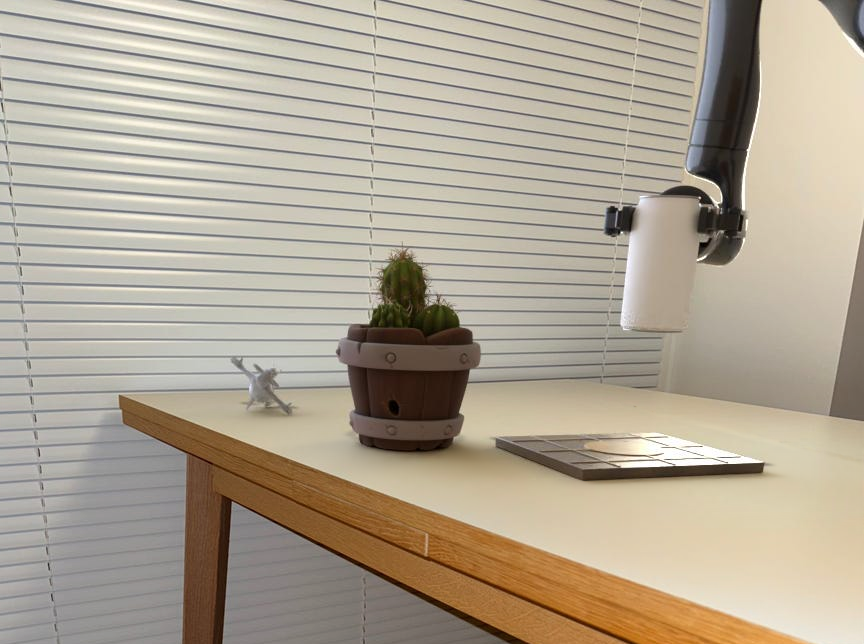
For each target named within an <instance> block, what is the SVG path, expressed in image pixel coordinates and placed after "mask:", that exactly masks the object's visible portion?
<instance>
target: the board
mask: <svg viewBox="0 0 864 644" xmlns="http://www.w3.org/2000/svg"><path fill="white" fill-rule="evenodd" d="M494 445H495V447H497V448H499V449H502V450H505V451H507V452H509V453H511V454H515V455H517V456H520V457H523V458H525V459H526V460H527V459H528V460H531V461H533V462H535V463H538V464H541V465H542V466H545V467H548V468H551V469H552V470H555V471H559V472H561V473H562V474H565V475H568V476H571V477H574V478H575V479H579V480H581V481H597V480H598V481H599V480H618V479H619V480H621V479H643V478H644V479H645V478H664V477H665V478H666V477H689V476H711V475H713V476H714V475H729V474H730V475H734V474H757V473H759V474H761V473H764V469H765V461H761V460H758V459H754V458H750V457H746V456H743V455H739V454H735V453H733V452H732V453H731V452H729V451H725V450H721V449H717V448H713V447H709V446H706V445H703V444H699V443H695V442H692V441H689V440H684V439H680V438H678V437H677V438H676V437H673V436H670V435H666V434H662V433H658V432H625V433H624V432H623V433H590V434H589V433H588V434H582V433H581V434H553V435H552V434H551V435H550V434H548V435H512V436H511V435H509V436H506V435H505V436H496V437H495V443H494Z"/></svg>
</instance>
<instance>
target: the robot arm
mask: <svg viewBox="0 0 864 644" xmlns="http://www.w3.org/2000/svg"><path fill="white" fill-rule="evenodd" d="M817 2H819V3H820V4H821V5H823V7H824V8H826V10H827V12H829V13H830V14H831V16H832V17H833V19H834V21H835V22H836V24H837V25H838V27H839V29H840V30H841V32H842V34H843V35H844V36H845V38H846V39H847V40H848V42H849V43H850V44H851V46H852V47H853V48H854V49H855V50H856V51H857V52H858V53H859V54H860V55H861V56H862V58H864V0H817ZM762 6H763V0H708V11H707V22H706V35H705V37H706V38H705V45H704V54H703V55H704V56H703V62H702V63H703V65H702V70H701V71H702V72H701V78H700V84H699V89H698V95H697V101H696V105H695V110H694V115H693V120H692V125H691V129H690V134H689V139H688V145H687V148H686V154H685V159H684V170H685V172H686V173H687V174H688V175H690V176H693V177H695V178H698V179H700V180H703V181H706V182H709V183H712V184H714V186H716V187H717V188H718V190H719V192H720V196H721V202H717V201H716V200H715V199H714V198H713V197H712V196H710V195H709V194H708V193H707V192H706V191H704V190H703V189H701V188H699V187H696V186H693V185H684V184H683V185H675V186H673V187H670V188H668V189H666V190H664V191H663V192H661V193H660V194H659V195H683V196H696V197H700V198H701V199H700V200H699V205H700V208H701V209H700V216H699V223H698V233H699V234H700V241H699V249H698V256H697V264H696V265H705V266H712V267H724V266H728V265H729V264H731V263H732V262H733V261H734V260H735V259H736V258H737V257H738V256H739V254H740V252H741V251H742V248H743V246H744V243H745V239H746V236H747V229H748V222H749V217H750V211H748V210H747V209H745V180H746V179H745V178H746V170H747V169H746V168H747V163H748V158H749V153H750V149H751V145H752V140H753V136H754V132H755V128H756V123H757V119H758V115H759V108H760V102H761V91H762V67H761V66H762V65H761V47H760V32H761V31H760V27H761V15H762V14H761V13H762ZM638 204H639V202H638V203H637V204H636V205H635V207H634V206H633V205H623V206H622V209H621V208H620V207H617V206H615V205H609V206H606V207H605V213H604V222H603V231H602V232H603V233H602V234H603V235H605V236H606V237H607V236H608V237H610V238H616V237H619V236H620V237H621V236H623V237H630V232H631V224H632V217H633V213H634V211H635V209H636V208H637V206H638Z"/></svg>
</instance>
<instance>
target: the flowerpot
mask: <svg viewBox="0 0 864 644" xmlns="http://www.w3.org/2000/svg"><path fill="white" fill-rule="evenodd" d="M411 247H412V245H410V246H409V247H406V248H405V249H404V244H403V242H401V249H398V248H395V249H392V250H391V249H390V248H389V251H390V252H388V254H389V255H388V257H387V258H386V259H384V261H388V264H387V266H384V267H380V268H378V267H376V268H375V267H374V270H376V269H377V270H379V271H378V272H377V274H378V276H375V277H376V279H377V280H376V282H375V283H374V285H375V286H377V284H376V283H379V282H380V283H379V284H378V286H377V287H376V288H372V290H376V291H377V293H376V296H375V300H374V301H373V303H372V305H371V306H372V307H371V308H372V313H371V319H370V320H369V323H354V324H351V325H349V326H348V329H347V336H346V337H342V338H340V339H339V340H338V344H337V348H336V349H335V354H336V356H337V359H338V362H339V363H341V364H343V365H347V377H348V382H349V387H350V391H351V396H352V397H351V398H352V400H353V407H354V409H351V411H350V412H349V414H348V416H349V422H348V423H349V426H350V427H351V429H352V431H353V432H355V433H356V434H358V441H359V443H360V444H363V445H365V446H367V447H370V446H371V447H377V448H379V449H383V450H384V449H385V450H393V451H416V450H417V449H419V450H422V451H429V450H434V449H435V448H436V447H438V446H439V447H441V448H448V447H450V446H451V445H452V444H453V443H454V438H455V437H457V436H459V435H460V434H461V431H462V428H463V426H464V421H465V415H464V414H463V413H461V412H460V411H461V408H462V405H463V404H462V403H463V402H464V401H463V400H464V397H465V394H466V390H467V386H468V383H469V377H470V374H471V373H470V371H471V370H472V369H476V368H478V367H479V366H480V364H481V358H482V349H481V344H480V342H477V341H474V333H473V330H470V328H468V327H467V328H466V327H462V326H460V318H459V315H458V313H461V310H460V311H456V312H455V311H454V308H453V307H456V306H457V307H458V304H453V303H452V302H450V301H449V302H447V301H446V298H442V294H440V295H439V294H438V292H437V291H433V293H434V294H435V295H436V299H434V298H432V297H431V296H430V294H432V292H431V290H430V288H431V287H432V288H433V285H430V284H431V283H432V281H433V277H432V276H429V275H430V273H429V270H428V269H427V268H425V267H429V266H430V264H426V265H423V264H424V262H423V261H421V265H420V264H418V260H416V258H417V257H418V256H417V255H415V253H414V251H413V250H411V253H410V254H409V252H408V250H409V249H411ZM392 251H393V252H396V253H395V254H394V255H393V253H392ZM381 264H384V263H383V262H382V263H381ZM424 271H425V272H424ZM380 273H381V274H380ZM429 278H430V279H431V281H430V280H428V279H429ZM378 296H379V297H378ZM378 300H381V301H380V302H379V301H378ZM432 300H433V301H432ZM375 302H377V303H376V305H377V307H374V304H375Z"/></svg>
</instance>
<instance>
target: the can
mask: <svg viewBox="0 0 864 644" xmlns="http://www.w3.org/2000/svg"><path fill="white" fill-rule="evenodd" d="M638 199H639V202H638V203H639V204H638V203H637V204H638V206H637V208H636V209H635V211H634V213H633V217H632V224H631V232H630V235H629V241H628V249H627V259H626V266H625V267H626V268H625V276H624V278H625V279H624V285H623V286H624V287H623V295H622V304H621V305H622V306H621V314H620V326H621V328H622V330H623V331H628V332H637V333H655V334H681V333H684V332H685V331H686V330H687V329H688V327H689V322H690V321H689V320H690V314H691V307H692V306H691V305H692V300H693V293H694V286H695V277H696V271H697V265H698V264H697V256H698V249H699V241H700V234H699V233H698V223H699V216H700V209H701V208H700V205H699V200H700V199H701V198H700V197H696V196H683V195H660V194H649V195H648V194H647V195H640V196H638Z"/></svg>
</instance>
